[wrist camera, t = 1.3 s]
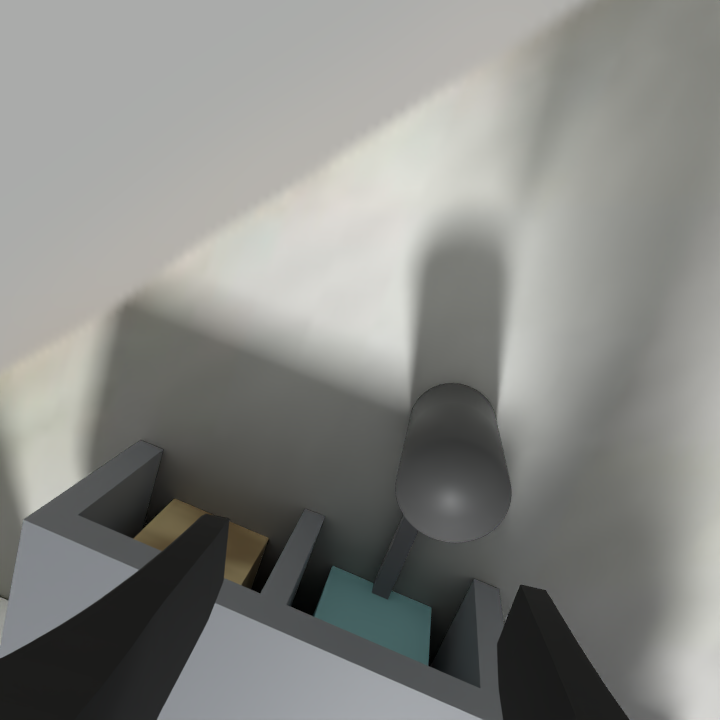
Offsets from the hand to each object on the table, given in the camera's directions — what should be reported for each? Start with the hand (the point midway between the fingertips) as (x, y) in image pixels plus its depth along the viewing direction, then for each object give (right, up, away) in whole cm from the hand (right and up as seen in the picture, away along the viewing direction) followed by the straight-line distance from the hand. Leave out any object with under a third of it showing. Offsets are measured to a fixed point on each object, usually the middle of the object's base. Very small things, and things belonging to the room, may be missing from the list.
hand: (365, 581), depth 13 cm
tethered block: (+2, -3, +11) cm, 12 cm away
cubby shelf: (-4, -6, +13) cm, 15 cm away
